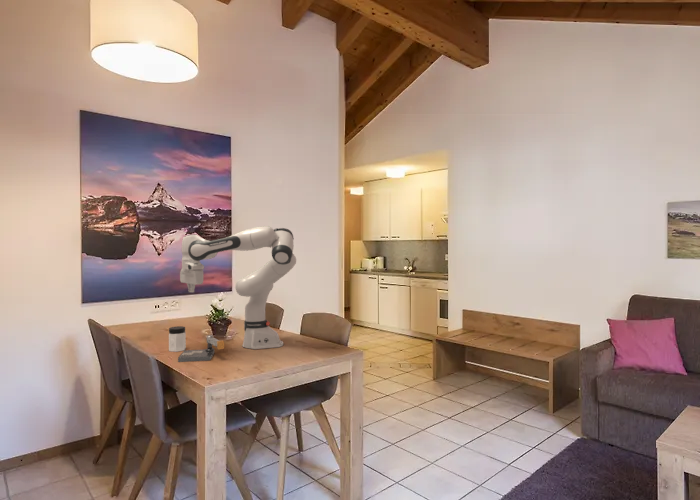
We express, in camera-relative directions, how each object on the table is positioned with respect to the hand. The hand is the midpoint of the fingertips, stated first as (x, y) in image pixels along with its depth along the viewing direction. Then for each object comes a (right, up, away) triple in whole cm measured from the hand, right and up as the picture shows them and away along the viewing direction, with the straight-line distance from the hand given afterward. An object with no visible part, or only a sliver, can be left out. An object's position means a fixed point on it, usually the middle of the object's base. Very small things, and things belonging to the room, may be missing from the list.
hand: (191, 292), depth 230 cm
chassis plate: (+6, -32, -8) cm, 33 cm away
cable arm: (+15, -26, -8) cm, 31 cm away
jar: (-10, -32, +7) cm, 34 cm away
